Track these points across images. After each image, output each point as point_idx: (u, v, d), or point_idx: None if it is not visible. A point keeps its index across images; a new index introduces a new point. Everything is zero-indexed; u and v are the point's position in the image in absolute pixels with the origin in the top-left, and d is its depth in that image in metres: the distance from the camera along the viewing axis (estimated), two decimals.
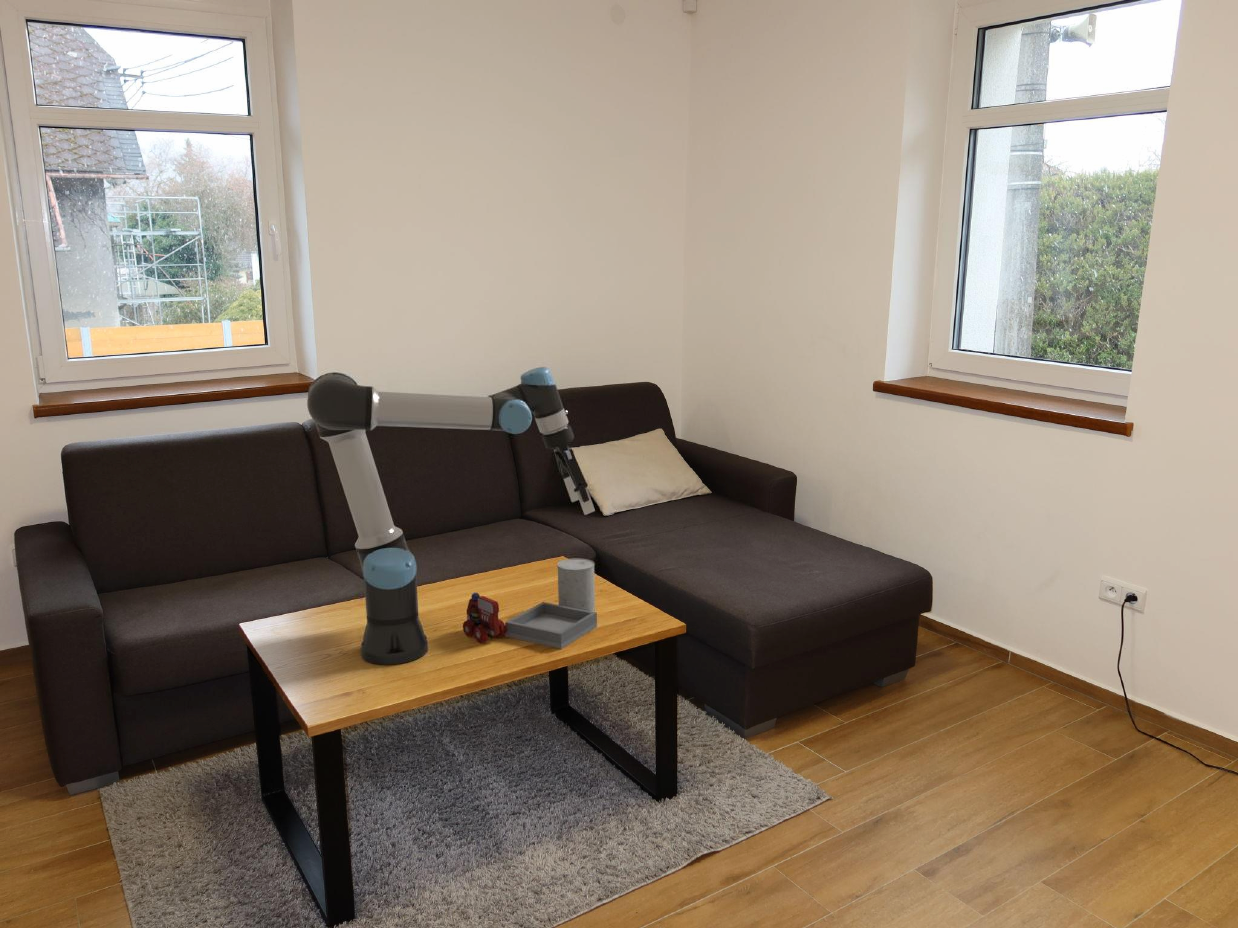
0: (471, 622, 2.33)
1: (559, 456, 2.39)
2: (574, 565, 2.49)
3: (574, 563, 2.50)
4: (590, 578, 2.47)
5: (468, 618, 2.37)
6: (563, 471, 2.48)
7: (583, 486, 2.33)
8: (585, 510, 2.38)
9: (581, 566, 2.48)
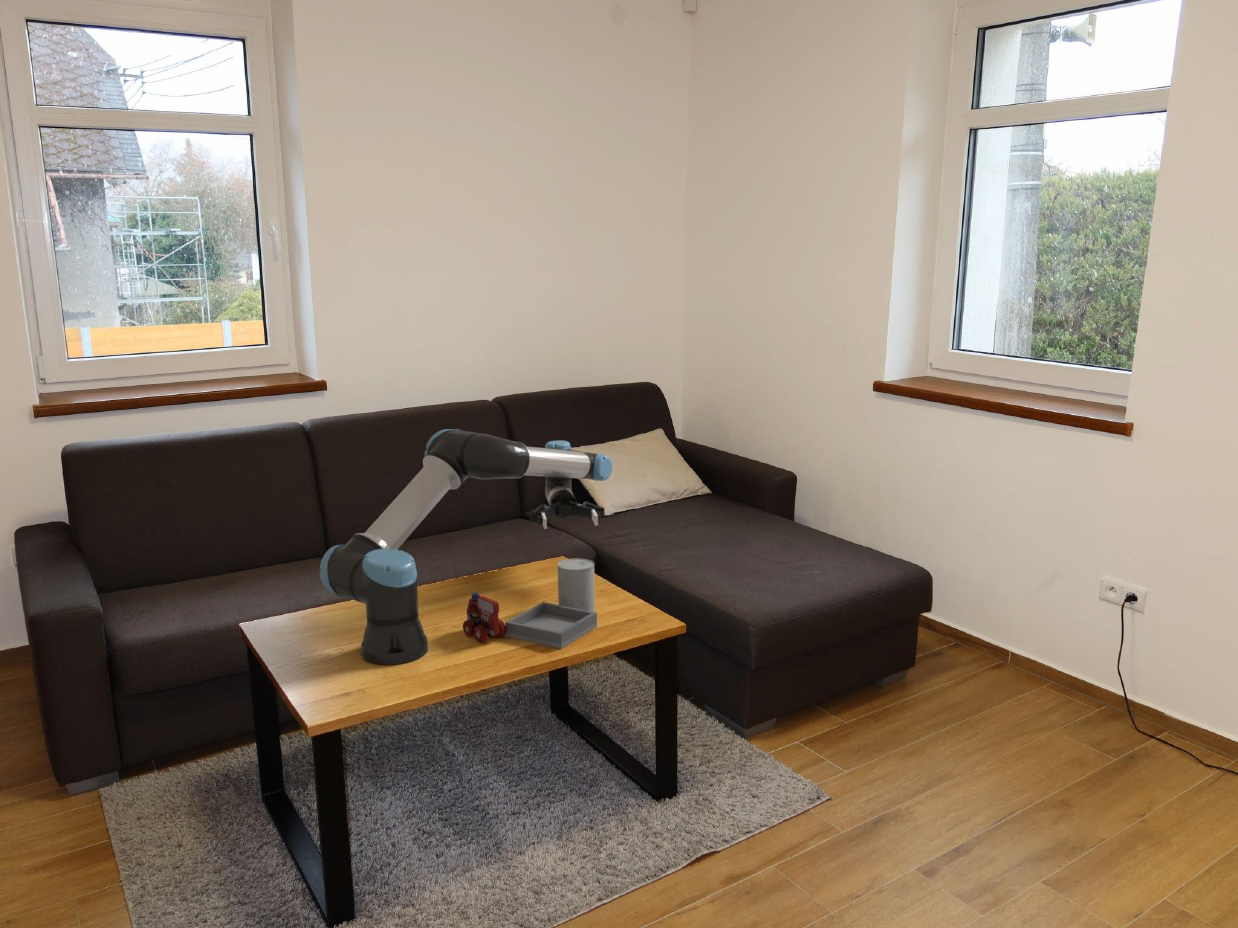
0: (471, 622, 2.33)
1: None
2: (574, 565, 2.49)
3: (574, 563, 2.50)
4: (590, 578, 2.47)
5: (468, 618, 2.37)
6: (546, 511, 2.64)
7: (604, 513, 2.65)
8: None
9: (581, 566, 2.48)
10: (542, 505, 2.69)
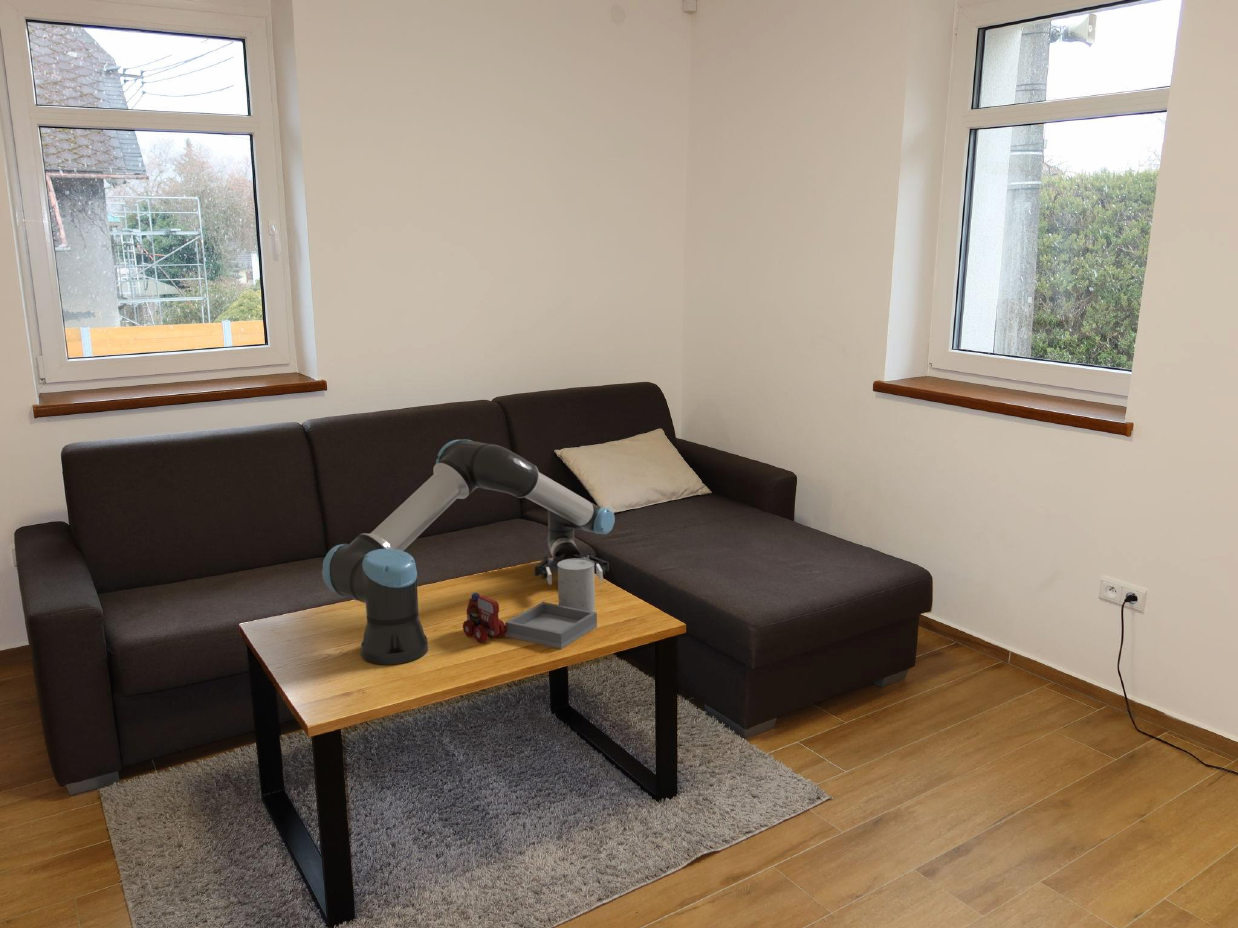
0: (471, 622, 2.33)
1: None
2: (574, 565, 2.49)
3: (574, 563, 2.50)
4: (590, 578, 2.47)
5: (468, 618, 2.37)
6: (550, 565, 2.63)
7: (608, 567, 2.65)
8: None
9: (581, 566, 2.48)
10: (546, 558, 2.68)
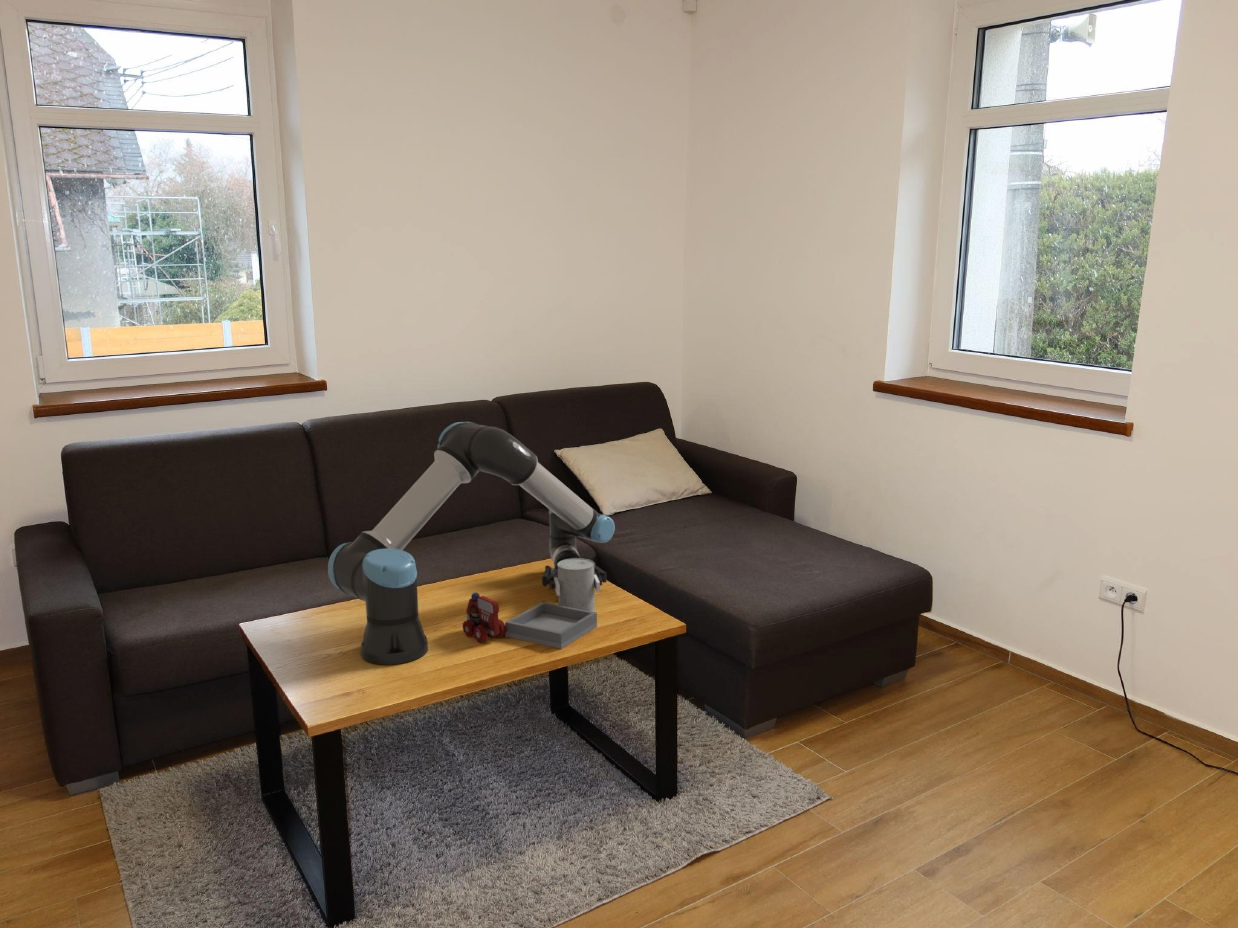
0: (471, 622, 2.33)
1: None
2: (574, 565, 2.49)
3: (574, 563, 2.50)
4: (590, 578, 2.47)
5: (468, 618, 2.37)
6: (557, 575, 2.54)
7: None
8: None
9: (581, 566, 2.48)
10: (548, 567, 2.59)
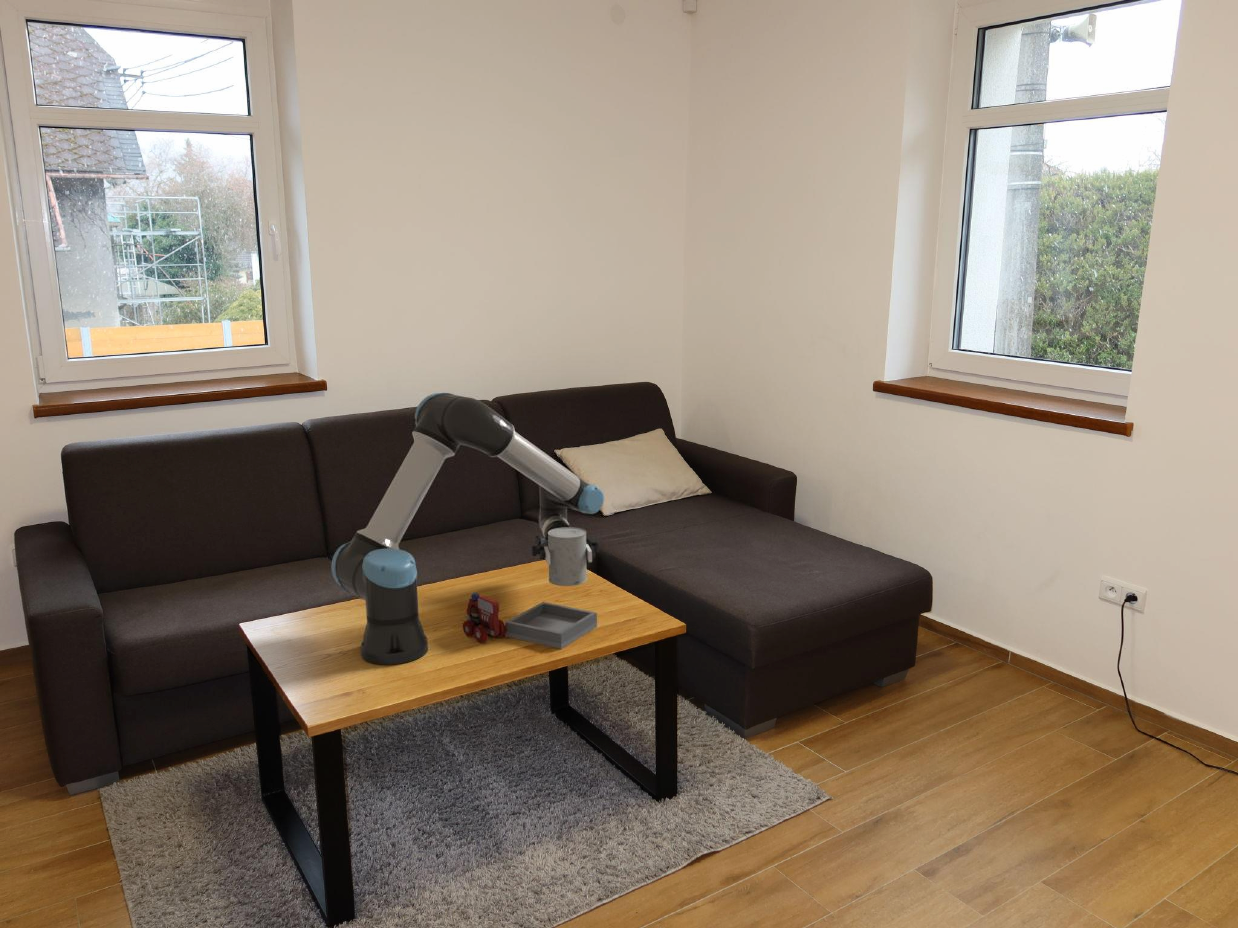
0: (471, 622, 2.33)
1: None
2: (565, 533, 2.40)
3: (565, 532, 2.41)
4: (581, 547, 2.38)
5: (468, 618, 2.37)
6: (547, 545, 2.45)
7: (598, 547, 2.46)
8: None
9: (573, 535, 2.38)
10: (538, 537, 2.50)
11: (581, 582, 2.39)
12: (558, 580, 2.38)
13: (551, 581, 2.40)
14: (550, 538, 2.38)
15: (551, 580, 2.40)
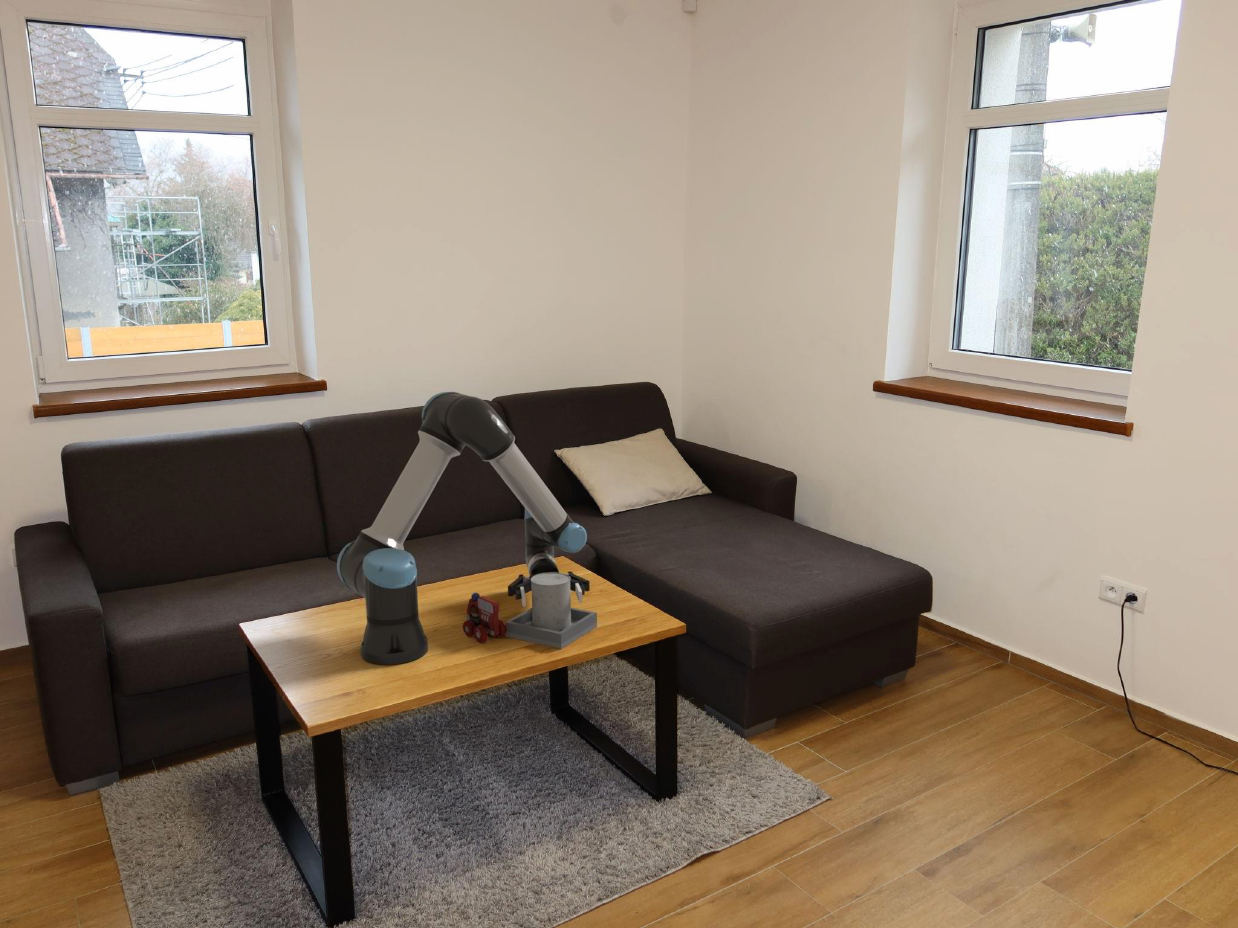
0: (471, 622, 2.33)
1: None
2: (549, 580, 2.33)
3: (549, 578, 2.35)
4: (565, 594, 2.32)
5: (468, 618, 2.37)
6: (526, 585, 2.39)
7: (589, 586, 2.41)
8: (581, 592, 2.33)
9: (556, 581, 2.32)
10: (521, 576, 2.44)
11: None
12: None
13: None
14: (533, 585, 2.32)
15: None
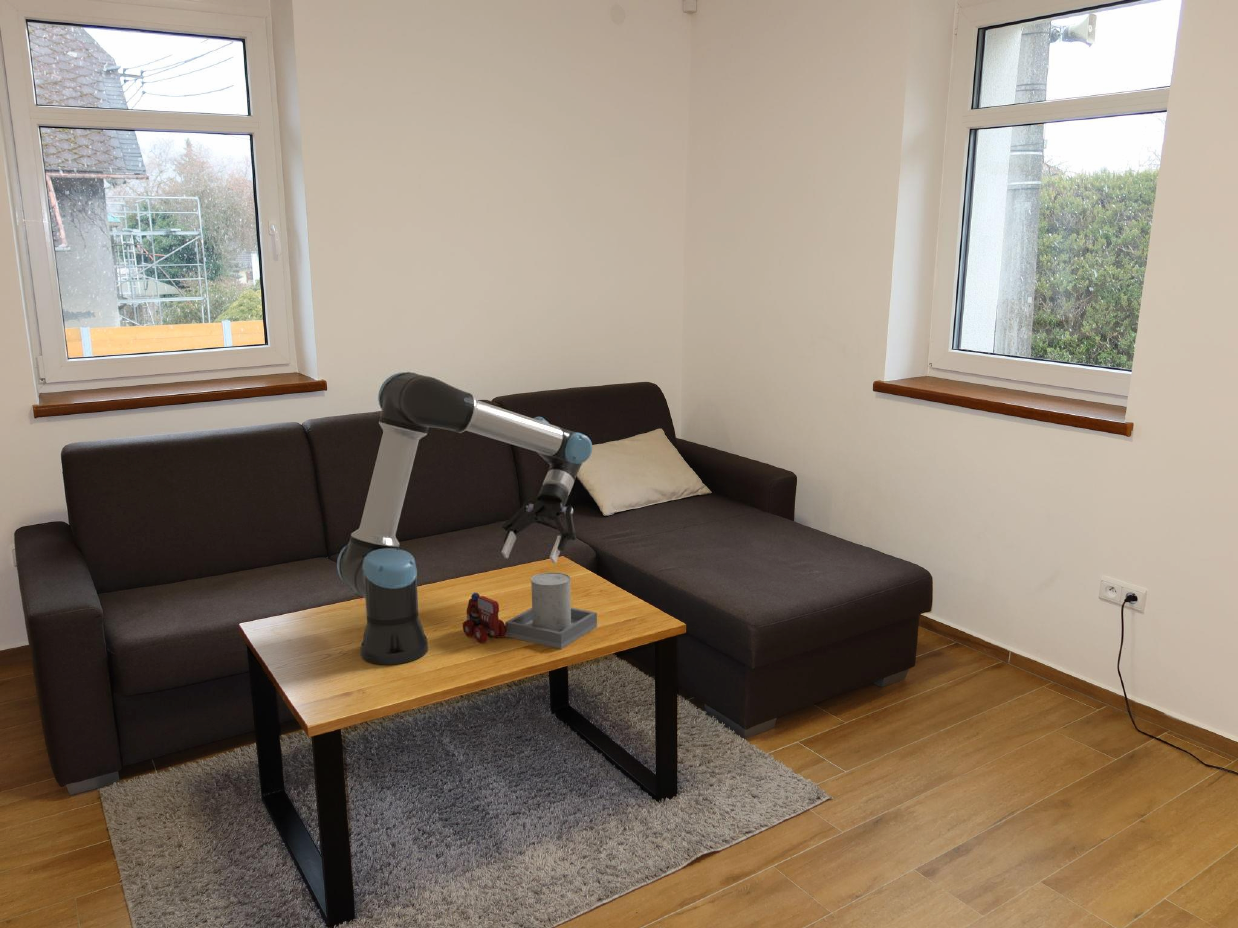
0: (471, 622, 2.33)
1: (552, 507, 2.50)
2: (549, 580, 2.33)
3: (549, 578, 2.35)
4: (565, 594, 2.32)
5: (468, 618, 2.37)
6: (519, 525, 2.50)
7: (574, 536, 2.44)
8: (554, 554, 2.40)
9: (556, 581, 2.32)
10: (524, 507, 2.53)
11: None
12: None
13: None
14: (533, 585, 2.32)
15: None
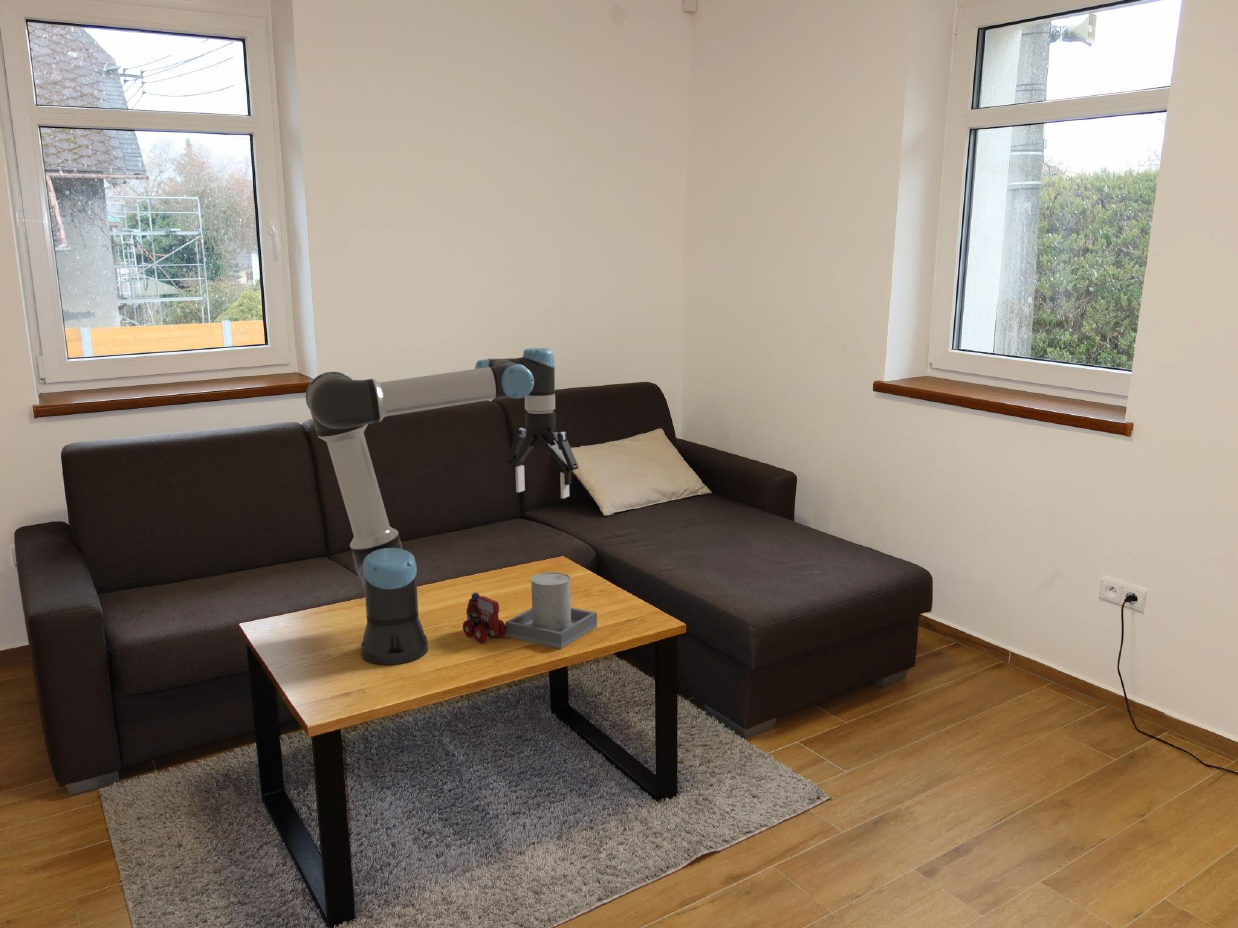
0: (471, 622, 2.33)
1: (544, 438, 2.40)
2: (549, 580, 2.33)
3: (549, 578, 2.35)
4: (565, 594, 2.32)
5: (468, 618, 2.37)
6: (521, 458, 2.45)
7: (576, 467, 2.39)
8: (564, 494, 2.41)
9: (556, 581, 2.32)
10: (517, 436, 2.44)
11: None
12: None
13: None
14: (533, 585, 2.32)
15: None
